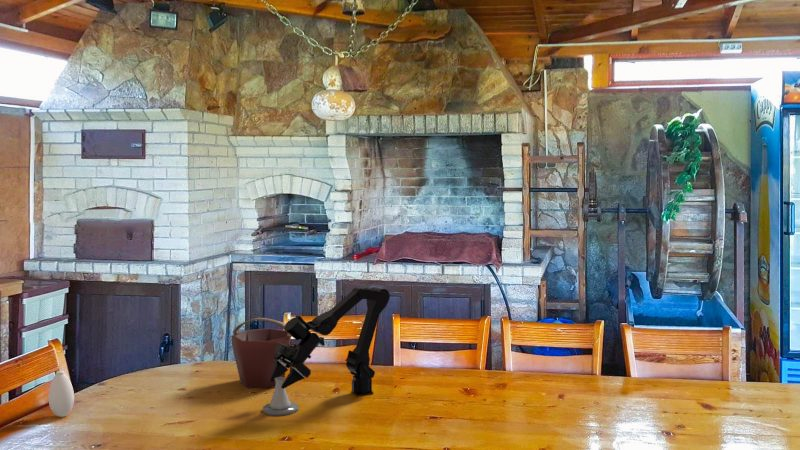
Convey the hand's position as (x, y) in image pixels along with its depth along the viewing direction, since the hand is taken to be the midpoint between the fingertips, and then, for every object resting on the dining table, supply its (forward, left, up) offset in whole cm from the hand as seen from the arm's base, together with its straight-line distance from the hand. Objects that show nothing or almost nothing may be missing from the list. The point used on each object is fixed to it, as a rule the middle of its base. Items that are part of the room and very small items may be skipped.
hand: (276, 384), depth 256 cm
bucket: (-2, -34, -9) cm, 36 cm away
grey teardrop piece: (+68, -23, -9) cm, 72 cm away
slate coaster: (-1, 0, -9) cm, 9 cm away
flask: (-1, 0, -8) cm, 8 cm away
